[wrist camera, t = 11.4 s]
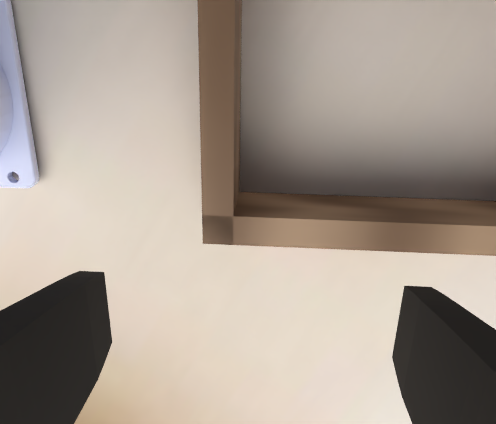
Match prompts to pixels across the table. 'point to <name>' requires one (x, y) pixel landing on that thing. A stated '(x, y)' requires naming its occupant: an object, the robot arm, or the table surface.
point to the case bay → (305, 205)
